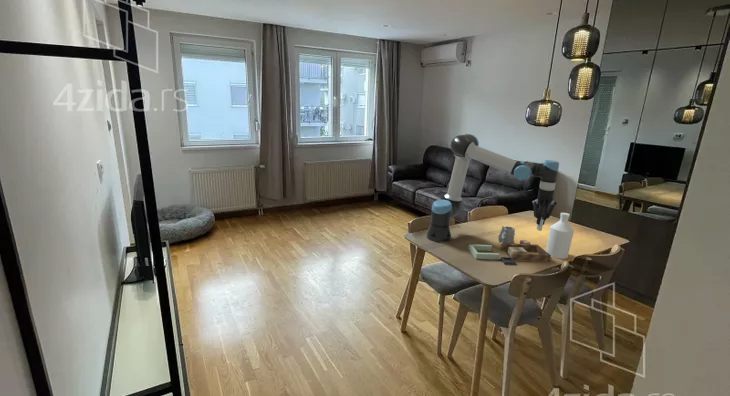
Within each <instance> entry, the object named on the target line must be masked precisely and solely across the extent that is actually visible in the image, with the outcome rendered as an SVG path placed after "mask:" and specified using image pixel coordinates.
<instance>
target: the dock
mask: <svg viewBox="0 0 730 396" xmlns="http://www.w3.org/2000/svg"><path fill="white" fill-rule="evenodd" d="M467 248H468V251H469V252H470V253H471V255H472V256H473V257H474V259H475V260H500V257H501V255H500V253H497V252H496V253H495V252H494V253H493V252H492V250H493V245H491V244H471V243H470V244H468V247H467ZM480 250H481V251H484V252H478V251H480Z"/></svg>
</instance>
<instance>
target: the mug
mask: <svg viewBox="0 0 730 396" xmlns="http://www.w3.org/2000/svg"><path fill="white" fill-rule="evenodd" d="M515 231H516V228H514V227H512V226H506V225H505V226H504V225H501V230H500V232H499V234H498V237H497V239H498V243H501V244H502V243H506V244H515V243H514V242H515V235H516V233H515Z"/></svg>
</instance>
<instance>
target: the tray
mask: <svg viewBox="0 0 730 396" xmlns="http://www.w3.org/2000/svg"><path fill="white" fill-rule="evenodd" d="M499 260H500V261H501V262H502V263H503V264H504V265H516V264H517V262H516V260H513V259H512V258H511V256H500V258H499Z"/></svg>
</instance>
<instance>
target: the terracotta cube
mask: <svg viewBox="0 0 730 396" xmlns="http://www.w3.org/2000/svg"><path fill="white" fill-rule="evenodd" d="M519 244H531V241H529V240H527V239H520V240H519Z"/></svg>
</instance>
